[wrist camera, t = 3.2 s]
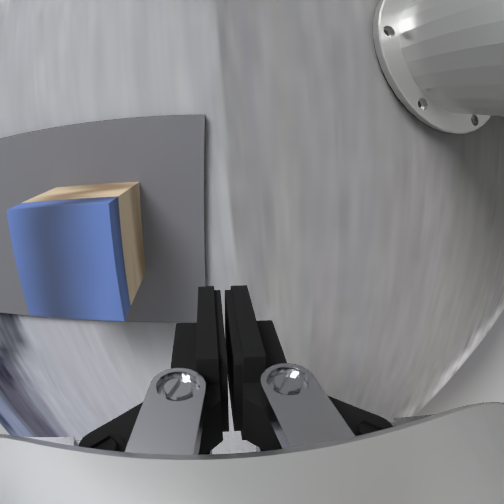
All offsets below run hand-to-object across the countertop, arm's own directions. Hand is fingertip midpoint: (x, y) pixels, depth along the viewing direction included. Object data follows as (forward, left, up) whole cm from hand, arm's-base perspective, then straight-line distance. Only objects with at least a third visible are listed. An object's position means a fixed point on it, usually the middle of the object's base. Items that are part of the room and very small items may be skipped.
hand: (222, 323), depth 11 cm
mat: (+14, -1, -10) cm, 17 cm away
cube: (+8, -1, -10) cm, 13 cm away
